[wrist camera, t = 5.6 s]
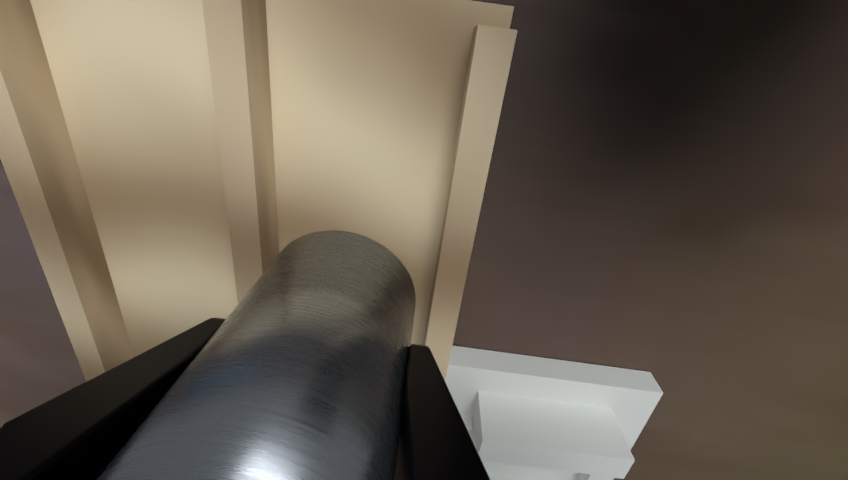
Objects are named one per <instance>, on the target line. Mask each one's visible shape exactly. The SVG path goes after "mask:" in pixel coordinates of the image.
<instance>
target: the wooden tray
mask: <svg viewBox="0 0 848 480" xmlns="http://www.w3.org/2000/svg"><path fill="white" fill-rule="evenodd" d="M513 10H514V6H507V5H500V4H493V3H486V2H479V1H472V0H0V159H1V161H2V164H3V166H4V169H5V172H6V174H7V177H8V179H9V182H10V185H11V187H12V190H13V192H14V195H15V198H16V200H17V203H18V205H19V208H20V211H21V213H22V216H23V218H24V221H25V224H26V226H27V229H28V232H29V234H30V237H31V239H32V242H33V245H34V247H35V250H36V252H37V255H38V258H39V260H40V263H41V265H42V268H43V271H44V273H45V276H46V278H47V281H48V284H49V286H50V289H51V292H52V294H53V297H54V299H55V302H56V305H57V307H58V310H59V312H60V315H61V318H62V320H63V323H64V325H65V328H66V331H67V333H68V336H69V338H70V341H71V344H72V346H73V349H74V351H75V354H76V357H77V359H78V362H79V365H80V367H81V370H82V372H83V375H84V378H85V380H86V382H87V381H89V380H91V379H93V378H94V377H96V376H98V375H100V374H102V373H104V372H106V371H108V370H110V369H112V368H114V367H116V366H118V365H120V364H122V363H124V362H126V361H128V360H130V359H132V358H133V357H135V356H137V355H139V354H141V353H143V352H145V351H147V350H149V349H151V348H153V347H155V346H157V345H159V344H161V343H163V342H165V341H167V340H169V339H171V338H172V337H174V336H176V335H178V334H180V333H182V332H184V331H186V330H188V329H190V328H192V327H194V326H196V325H198V324H200V323H202V322H204V321H206V320H208V319H210V318H223V319H227V317H228V316H229V315H230V314H231V313H232V311H233V310H234V309H235V308H236V306H237V305H238V304H239V303H240V301H241V300H242V299H243V298H244V296H245V295H246V294H247V293H248V291H249V290H250V289H251V288H252V287H253V285H254V284H255V283H256V282H257V280H258V279H259V278H260V277H261V275H262V274H263V273H264V272H265V270H266V269H267V268H268V267H269V265H270V264H271V263H272V262H273V261H274V259H275V258H276V257H277V256H278V254H279V253H280V252H281V251H282V250H283V249H284V248H285V247H286V246H287V245H288V244H289V243H291V242H292V241H294V240H295V239H297V238H299V237H302V236H304V235H306V234H310V233H313V232H318V231H325V230H339V231H347V232H353V233H357V234H360V235H363V236H366V237H368V238H370V239H372V240H375V241H376V242H378V243H380V244H381V245H383V246H385V247H386V248H387V249H389V250H390V251H391V252H392V253H393V254H394V255H395V256H396V257H397V258H398V259H399V260H400V261H401V262H402V263H403V265H404V266H405V268H406V269H407V271H408V273H409V274H410V277H411V279H412V281H413V284H414V288H415V295H416V306H415V314H414V323H413V331H412V339H411V344H417V345H425V346H428V347H429V348H430V350H431V352H432V354H433V356H434V359H435V361H436V363H437V365H438V367H439V369H440V372H441V374H442V376H443V378H444V380H445V378H446V373H447V368H448V364H449V359H450V354H451V349H452V344H453V340H454V335H455V330H456V325H457V320H458V315H459V311H460V306H461V301H462V296H463V291H464V286H465V282H466V277H467V272H468V267H469V262H470V258H471V253H472V248H473V243H474V238H475V233H476V229H477V224H478V219H479V214H480V209H481V204H482V200H483V195H484V190H485V185H486V180H487V176H488V171H489V166H490V161H491V156H492V151H493V147H494V142H495V137H496V132H497V127H498V122H499V118H500V113H501V108H502V103H503V98H504V94H505V89H506V84H507V79H508V74H509V69H510V65H511V60H512V55H513V50H514V45H515V40H516V36H517V31H518V30H514V29H510V25H511V20H512V15H513Z"/></svg>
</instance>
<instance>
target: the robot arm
mask: <svg viewBox="0 0 848 480" xmlns="http://www.w3.org/2000/svg"><path fill="white" fill-rule="evenodd" d="M225 320H226V319H223V318H210V319H208V320H206V321H204V322H202V323H200V324H198V325H196V326H194V327H192V328H190V329H188V330H186V331H184V332H182V333H180V334H178V335H176V336H174V337H172V338H171V339H169V340H167V341H165V342H163V343H161V344H159V345H157V346H155V347H153V348H151V349H149V350H147V351H145V352H143V353H141V354H139V355H137V356H135V357H133V358H132V359H130V360H128V361H126V362H124V363H122V364H120V365H118V366H116V367H114V368H112V369H110V370H108V371H106V372H104V373H102V374H100V375H98V376H96V377H94V378H93V379H91V380H89V381H87V382H85V383H83V384H81V385H79V386H77V387H75V388H73V389H71V390H69V391H67V392H65V393H63V394H61V395H59V396H57V397H55V398H54V399H52V400H50V401H48V402H46V403H44V404H42V405H40V406H38V407H36V408H34V409H32V410H30V411H28V412H26V413H24V414H22V415H20V416H18V417H16V418H14V419H12V420H11V421H9V422H7V423H5V424H4V425H3V426H2V428H1V427H0V480H97V478H98V477H99V476H100V475H101V473H102V472H103V471H104V470H105V468H106V467H107V466H108V465H109V463H110V462H111V461H112V460H113V459H114V457H115V456H116V455H117V454H118V452H119V451H120V450H121V449H122V447H123V446H124V445H125V444H126V442H127V441H128V440H129V439H130V438H131V436H132V435H133V434H134V433H135V431H136V430H137V429H138V428H139V426H140V425H141V424H142V423H143V421H144V420H145V419H146V418H147V416H148V415H149V414H150V413H151V412H152V410H153V409H154V408H155V407H156V405H157V404H158V403H159V402H160V400H161V399H162V398H163V397H164V395H165V394H166V393H167V392H168V390H169V389H170V388H171V387H172V386H173V384H174V383H175V382H176V381H177V379H178V378H179V377H180V376H181V374H182V373H183V372H184V371H185V369H186V368H187V367H188V366H189V364H190V363H191V362H192V361H193V360H194V358H195V357H196V356H197V355H198V353H199V352H200V351H201V350H202V348H203V347H204V346H205V345H206V343H207V342H208V341H209V340H210V338H211V337H212V336H213V335H214V334H215V332H216V331H217V330H218V329H219V327H220V326H221V325H222V324H223V322H224V321H225ZM395 480H490V478H489V476H488V473H487V471H486V469H485V467H484V465H483V463H482V460H481V458H480V456H479V454H478V452H477V450H476V447H475V445H474V443H473V441H472V439H471V437H470V434H469V432H468V430H467V428H466V426H465V424H464V421H463V419H462V417H461V415H460V413H459V411H458V408H457V406H456V404H455V402H454V400H453V398H452V395H451V393H450V391H449V389H448V387H447V385H446V382H445V380H444V378H443V376H442V374H441V372H440V369H439V367H438V365H437V363H436V361H435V359H434V356H433V354H432V352H431V350H430V348H429V347H428V346H425V345H417V344H411V345H410V347H409V353H408V361H407V369H406V377H405V385H404V393H403V403H402V418H401V429H400V437H399V445H398V453H397V461H396V469H395Z"/></svg>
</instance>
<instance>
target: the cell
mask: <svg viewBox="0 0 848 480" xmlns="http://www.w3.org/2000/svg"><path fill="white" fill-rule="evenodd" d="M415 306H416V295H415V288H414V284H413V281H412V279H411V277H410V274H409V273H408V271H407V269H406V268H405V266H404V265H403V263H402V262H401V261H400V260H399V259H398V258H397V257H396V256H395V255H394V254H393V253H392V252H391V251H390V250H389V249H387V248H386V247H385V246H383V245H381V244H380V243H378V242H376V241H375V240H372V239H370V238H368V237H366V236H363V235H360V234H357V233H353V232H347V231H339V230H325V231H318V232H313V233H310V234H306V235H304V236H302V237H299V238H297V239H295V240H294V241H292V242H291V243H289V244H288V245H287V246H286V247H285V248H284V249H283V250H282V251H281V252H280V253H279V254H278V256H277V257H276V258H275V259H274V261H273V262H272V263H271V264H270V265H269V267H268V268H267V269H266V270H265V272H264V273H263V274H262V275H261V277H260V278H259V279H258V280H257V282H256V283H255V284H254V285H253V287H252V288H251V289H250V290H249V291H248V293H247V294H246V295H245V296H244V298H243V299H242V300H241V301H240V303H239V304H238V305H237V306H236V308H235V309H234V310H233V311H232V313H231V314H230V315H229V316H228V317H227V319H226V320H225V321H224V322H223V324H222V325H221V326H220V327H219V329H218V330H217V331H216V332H215V334H214V335H213V336H212V337H211V338H210V340H209V341H208V342H207V343H206V345H205V346H204V347H203V348H202V350H201V351H200V352H199V353H198V355H197V356H196V357H195V358H194V360H193V361H192V362H191V363H190V364H189V366H188V367H187V368H186V369H185V371H184V372H183V373H182V374H181V376H180V377H179V378H178V379H177V381H176V382H175V383H174V384H173V386H172V387H171V388H170V389H169V390H168V392H167V393H166V394H165V395H164V397H163V398H162V399H161V400H160V402H159V403H158V404H157V405H156V407H155V408H154V409H153V410H152V412H151V413H150V414H149V415H148V416H147V418H146V419H145V420H144V421H143V423H142V424H141V425H140V426H139V428H138V429H137V430H136V431H135V433H134V434H133V435H132V436H131V438H130V439H129V440H128V441H127V442H126V444H125V445H124V446H123V447H122V449H121V450H120V451H119V452H118V454H117V455H116V456H115V457H114V459H113V460H112V461H111V462H110V463H109V465H108V466H107V467H106V468H105V470H104V471H103V472H102V473H101V475H100V476H99V477H98V478H97V480H394V477H395V469H396V461H397V453H398V445H399V437H400V429H401V418H402V403H403V393H404V385H405V377H406V369H407V361H408V353H409V347H410V345H411V339H412V331H413V323H414V314H415Z"/></svg>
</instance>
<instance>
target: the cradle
mask: <svg viewBox="0 0 848 480" xmlns="http://www.w3.org/2000/svg"><path fill="white" fill-rule="evenodd" d="M445 382H446V385H447V387H448V389H449V391H450V393H451V395H452V398H453V400H454V402H455V404H456V406H457V408H458V411H459V413H460V415H461V417H462V419H463V421H464V424H465V426H466V428H467V430H468V432H469V434H470V437H471V439H472V441H473V443H474V445H475V447H476V450H477V452H478V454H479V456H480V458H481V460H482V463H483V465H484V467H485V469H486V471H487V473H488V476H489V478H490V480H613V479H614V478H621V479H624V478H625V476H626V474H627V473H628V471H629V469H630V468H631V466H632V464H633V463H634V461H635V460H634V457H633V455H632V453H631V451H630V450H631V448H632V446H633V445H634V443H635V441H636V440H637V438H638V436H639V434H640V433H641V431H642V429H643V427H644V426H645V424H646V422H647V421H648V419H649V417H650V415H651V414H652V412H653V410H654V408H655V407H656V405H657V403H658V402H659V400H660V398H661V396H662V395H663V392H662V390H661V389H660V387H659V385H658V384H657V382H656V380H655V379H654V377H653V376H652V374H651V372H646V371H639V370H631V369H624V368H616V367H609V366H601V365H594V364H586V363H579V362H571V361H564V360H556V359H549V358H542V357H534V356H527V355H519V354H512V353H504V352H497V351H489V350H482V349H474V348H467V347H459V346H452V349H451V354H450V359H449V364H448V368H447V373H446V378H445Z"/></svg>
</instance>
